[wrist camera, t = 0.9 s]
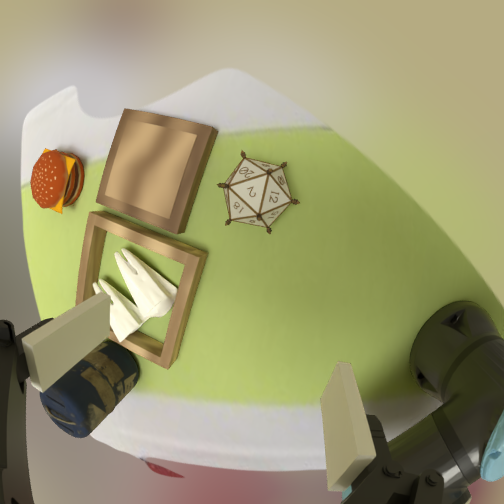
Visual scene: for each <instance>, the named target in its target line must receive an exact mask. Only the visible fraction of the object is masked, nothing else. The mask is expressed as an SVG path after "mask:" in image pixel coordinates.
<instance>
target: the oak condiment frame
mask: <svg viewBox="0 0 504 504" xmlns="http://www.w3.org/2000/svg"><path fill="white" fill-rule="evenodd" d="M107 231H108V232H111V233H113V234H115V235H117V236H120V237H122V238H124V239H126V240H129V241H131V242H133V243H135V244H138V245H140V246H142V247H145V248H147V249H149V250H151V251H154V252H156V253H158V254H161V255H163V256H166V257H168V258H170V259H173V260H175V261H177V262H180V263H182V264H185V266H184V270H183V273H182V277H181V280H180V284H179V288H178V291H177V295H176V299H175V302H174V306H173V310H172V314H171V318H170V321H169V325H168V329H167V333H166V337H165V342H164V344H163V343H161V342H159V341H157V340H155V339H153V338H151V337H149V336H147V335H145V334H143V333H141V332H139V331H137V330H136V331H135V332H134V333H132V334H129V335H128V336H127V337H126V338H125V339H124V340H123V341H121V342H119V340H118V339H117V337H116V335H115V333H114V331H113V329H112V328H111V326H110V336H108V338H109V339H111V340H113V341H115V342H116V343H118V344H120V345H122V346H123V347H125V348H127V349H129V350H131V351H132V352H134V353H136V354H138V355H140V356H142V357H144V358H146V359H148V360H150V361H151V362H153V363H155V364H157V365H159V366H161V367H163V368H166V369H169V368H170V367H171V365H172V364H173V363H174V362H175V360H176V359H177V357H178V353H179V349H180V346H181V342H182V339H183V335H184V332H185V328H186V325H187V321H188V318H189V314H190V311H191V308H192V304H193V301H194V297H195V294H196V291H197V288H198V284H199V281H200V278H201V274H202V271H203V268H204V265H205V262H206V258H207V255H208V253H207V252H205V251H202V250H199V249H197V248H194V247H192V246H189V245H187V244H184V243H182V242H179V241H177V240H174V239H172V238H169V237H167V236H164V235H162V234H159V233H157V232H154V231H152V230H149V229H147V228H145V227H142V226H140V225H137V224H135V223H132V222H130V221H127V220H125V219H122V218H120V217H118V216H115V215H113V214H110V213H108V212H105V211H93V212H89V216H88V220H87V225H86V231H85V236H84V242H83V248H82V254H81V261H80V268H79V276H78V284H77V294H76V305H75V306H77V305H78V304H80V303H82V302H84V301H85V300H87V299H89V298H91V297H92V296H94V295H96V293H95V290H94V287H93V283H94V282H96V283H97V282H98V275H99V269H100V263H101V258H102V252H103V247H104V242H105V237H106V232H107Z"/></svg>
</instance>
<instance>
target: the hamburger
mask: <svg viewBox="0 0 504 504" xmlns="http://www.w3.org/2000/svg"><path fill="white" fill-rule="evenodd" d="M83 182H84V170H83V165H82V163H81V161H80V159H79V158H78V157H77V156H75V155H74V154H72V153H64V152H59V151H57V150H52V151H51V150H48V149H46V148H45V150H44V151H43V153H42V155H41V156H40V158H39V159H38V161H37V162H36V164H35V165H34V167H33V171H32V176H31V181H30V183H31V189H32V195H33V198H34V199H35V201H36V202H37V203H38V204H39V205H40V207H41V208H50V209H52V210H54V211H57V212H59V213H61V214H62V206H63V207H66V206H68V205H71V204H73V203H74V202H75V200H76V199H77V198H78V197H79V195H80V193H81V190H82V188H83Z"/></svg>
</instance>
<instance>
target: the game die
mask: <svg viewBox="0 0 504 504" xmlns="http://www.w3.org/2000/svg"><path fill="white" fill-rule="evenodd" d="M240 155H241V157H243V159H242V161H241V162H240V163H239V165H238V166H237V167H236V169H235V170H234V171H233V173H232V174H231V175H230V177H229V178H228V179H227V181H226V182H225V183H222V184H221V183H219V184H217V185H218V187H219V188H220V187H221V188H223V189H224V194H225V199H226V204H227V209H228V213H229V219H228V220H227V221H225V222H226V223H225V226H226V225H229V224H230V223H231V221H236V222H241V223H246V224H251V225H256V226H261V227H266V228H267V232H268V233H269V234H271V231H272V230H271V228H270V227H269V226H270V225H271V224H272V223H273V222H274V221H275V220H276V219H277V218H278V217H279V215H280V214H281V213H282V212H283V211H284V210H285V209H286V208H287V207H288V206H289V205H290V204H291V203H293V204H299V203H300V202H299V201H298V200H295V199H294V200H292V197H291V194H290V191H289V187H288V184H287V181H286V178H285V174H284V171H283V168H284V167H285V166H287V162H283V164H281V166H278V165H274V164H270V163H266V162H262V161H258V160H254V159H250V158H246V155H245V152H243V151H241V154H240Z"/></svg>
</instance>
